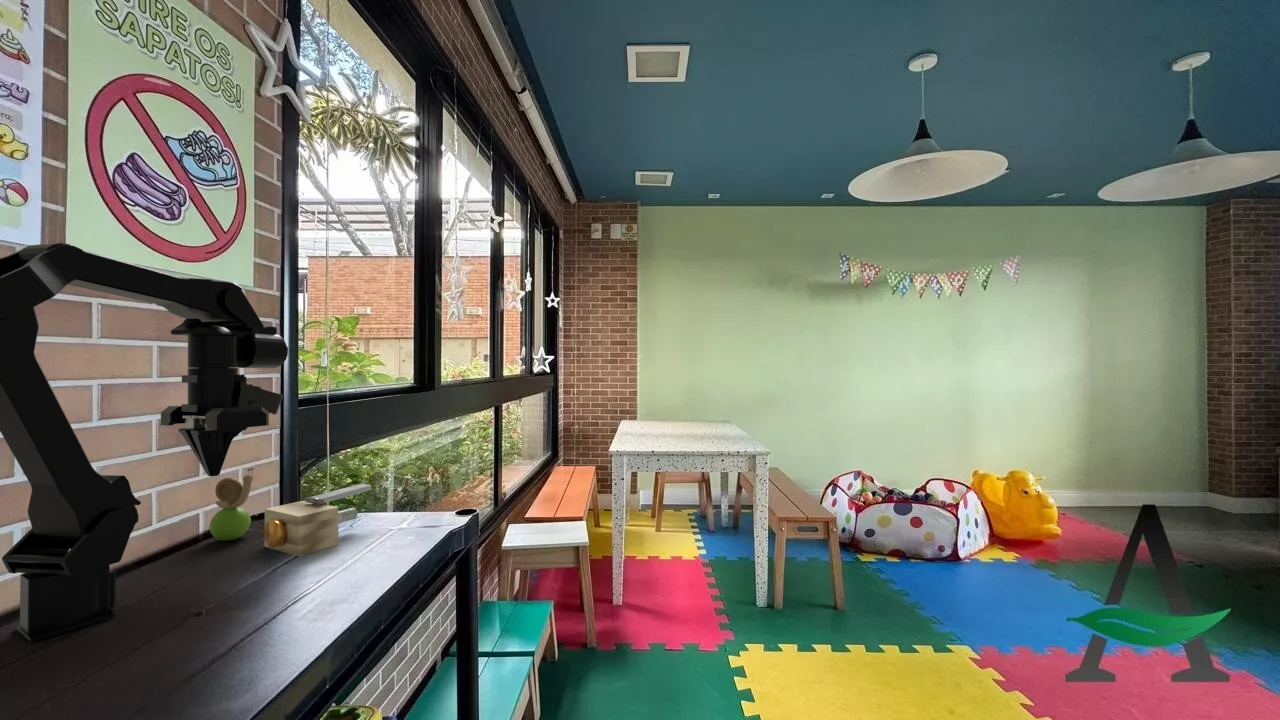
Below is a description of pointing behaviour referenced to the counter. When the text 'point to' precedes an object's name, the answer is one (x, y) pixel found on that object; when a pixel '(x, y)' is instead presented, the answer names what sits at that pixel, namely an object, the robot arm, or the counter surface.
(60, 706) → the counter surface
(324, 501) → the bar
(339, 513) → the pin
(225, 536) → the snail figurine
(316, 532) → the block
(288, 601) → the counter surface
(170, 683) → the counter surface
